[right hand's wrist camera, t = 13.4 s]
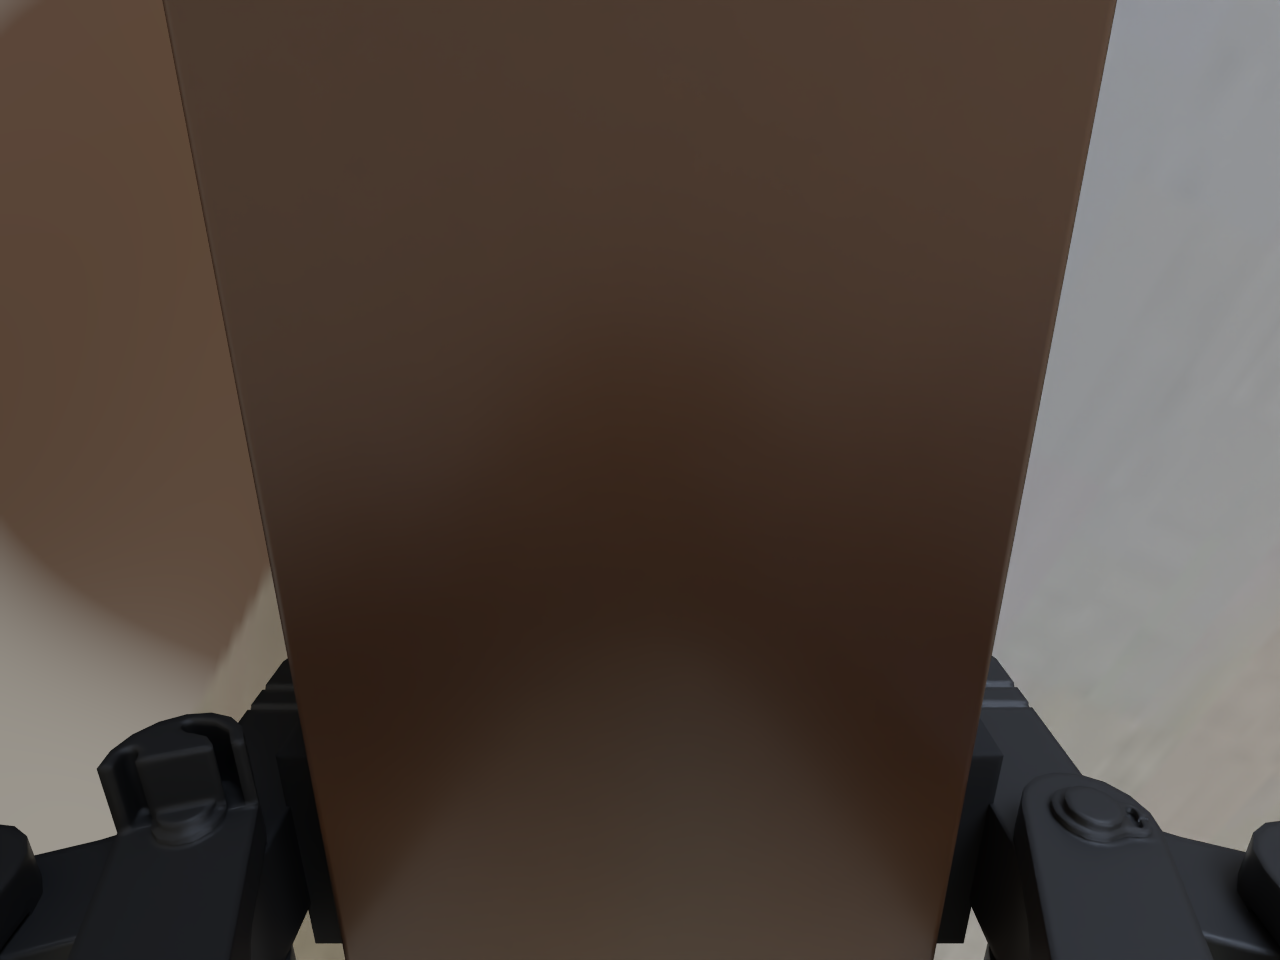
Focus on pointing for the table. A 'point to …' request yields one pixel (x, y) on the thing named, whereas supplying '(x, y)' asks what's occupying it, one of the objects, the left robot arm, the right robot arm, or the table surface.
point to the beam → (639, 441)
